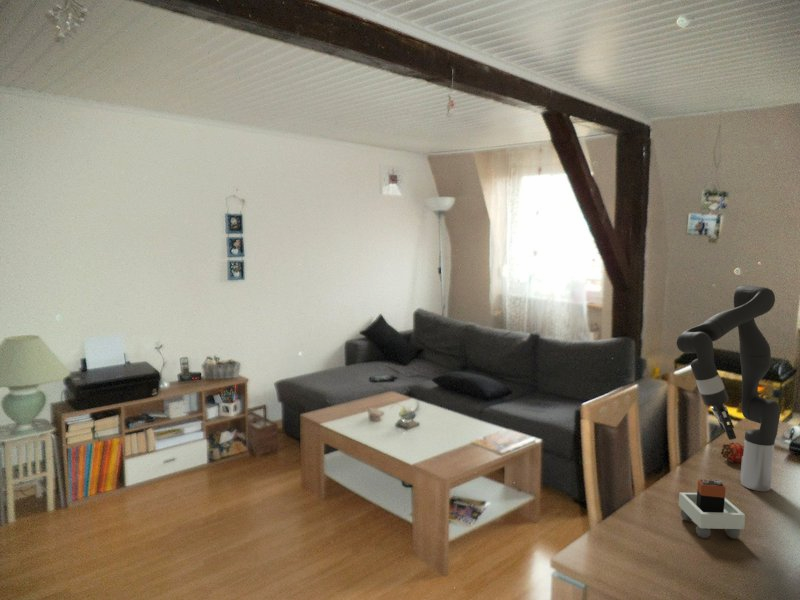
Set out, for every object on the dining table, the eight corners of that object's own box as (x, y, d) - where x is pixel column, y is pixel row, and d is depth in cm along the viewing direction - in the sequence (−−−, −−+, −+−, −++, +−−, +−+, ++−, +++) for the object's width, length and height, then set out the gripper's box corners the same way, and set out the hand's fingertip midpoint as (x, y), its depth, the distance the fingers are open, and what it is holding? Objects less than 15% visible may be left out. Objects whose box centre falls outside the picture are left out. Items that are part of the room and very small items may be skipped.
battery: (723, 515, 171) (726, 484, 169) (699, 512, 172) (702, 482, 171) (719, 508, 175) (721, 478, 174) (695, 506, 176) (697, 476, 175)
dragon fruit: (723, 468, 224) (736, 465, 231) (743, 461, 218) (756, 458, 225) (713, 447, 227) (726, 445, 234) (732, 440, 222) (746, 438, 229)
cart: (677, 516, 181) (679, 492, 180) (717, 517, 181) (719, 493, 180) (699, 540, 167) (701, 514, 166) (743, 541, 167) (745, 515, 166)
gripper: (730, 392, 174) (748, 439, 175) (717, 379, 188) (734, 422, 189) (704, 399, 177) (722, 445, 177) (694, 385, 190) (711, 428, 191)
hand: (728, 433), depth 183 cm, fingers open, 8 cm apart
